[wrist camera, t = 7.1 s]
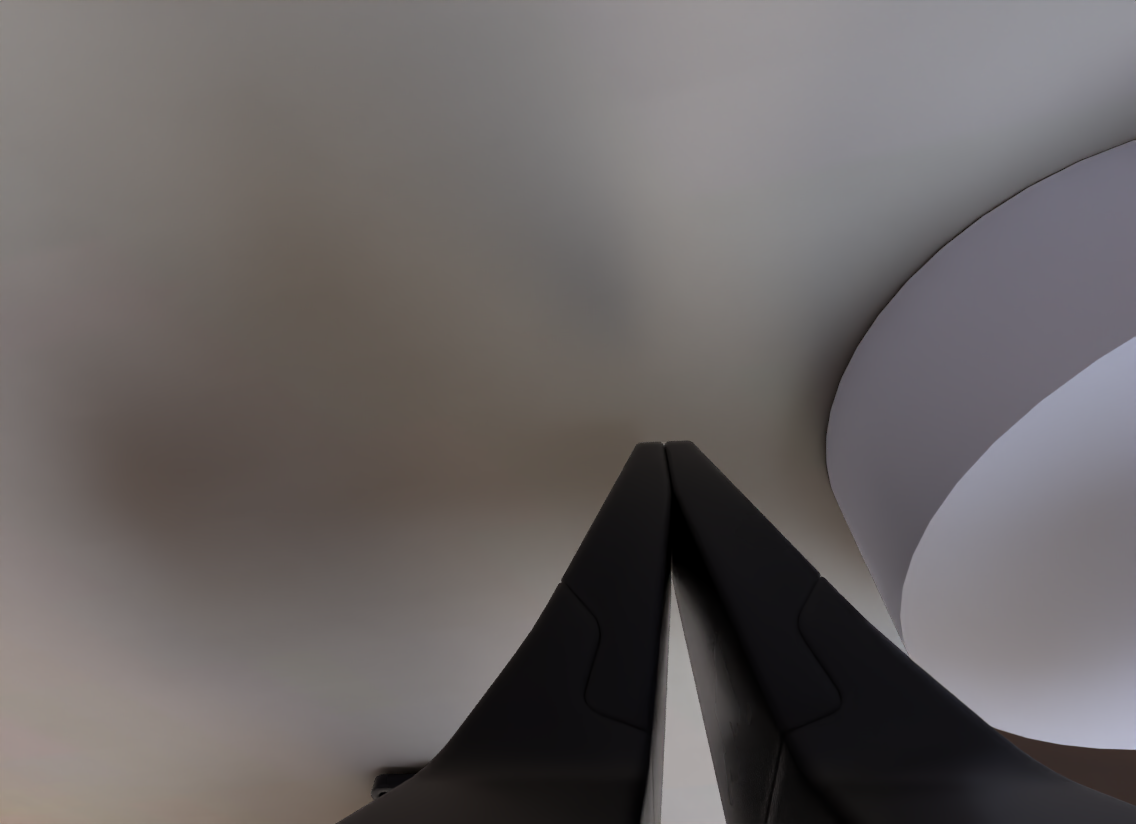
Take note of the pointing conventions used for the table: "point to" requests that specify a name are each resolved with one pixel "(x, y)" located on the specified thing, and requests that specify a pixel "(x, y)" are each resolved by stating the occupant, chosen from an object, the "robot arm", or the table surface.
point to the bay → (1085, 765)
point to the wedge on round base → (1009, 459)
